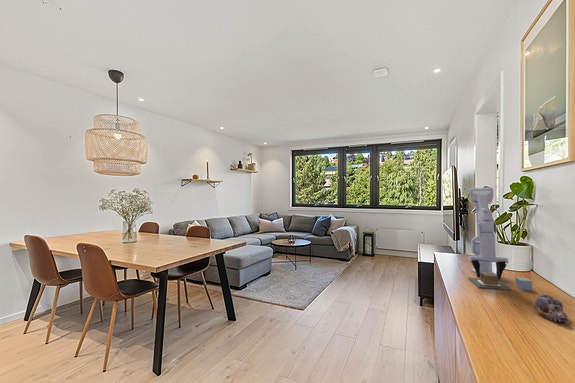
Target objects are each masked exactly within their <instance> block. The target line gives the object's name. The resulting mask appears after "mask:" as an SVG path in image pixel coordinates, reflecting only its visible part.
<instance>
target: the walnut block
mask: <svg viewBox="0 0 575 383" xmlns="http://www.w3.org/2000/svg"><path fill="white" fill-rule="evenodd" d="M495 274H496V273H494V272H493V273H487V272H480V279H481V282H483V283H484V284H489V285H498V280H499V279H498V276H497V274H496V275H495Z"/></svg>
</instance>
